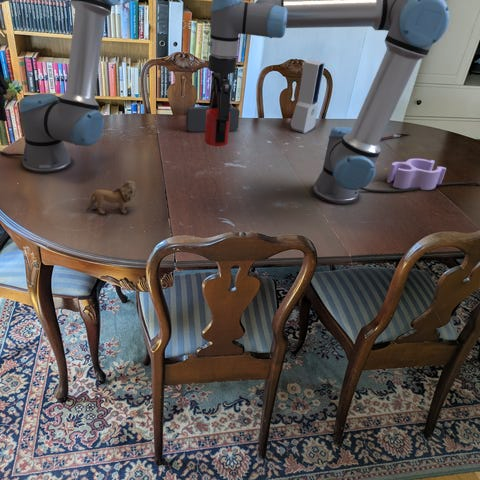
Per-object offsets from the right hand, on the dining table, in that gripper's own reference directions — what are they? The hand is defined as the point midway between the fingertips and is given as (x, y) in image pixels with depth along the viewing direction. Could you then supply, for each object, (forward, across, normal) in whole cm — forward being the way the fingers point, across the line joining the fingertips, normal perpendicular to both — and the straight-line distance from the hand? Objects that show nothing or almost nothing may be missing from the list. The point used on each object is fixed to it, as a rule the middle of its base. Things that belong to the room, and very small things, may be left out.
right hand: (216, 137), depth 138 cm
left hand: (-5, +5, -61) cm, 61 cm away
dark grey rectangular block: (+21, -61, +14) cm, 66 cm away
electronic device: (+21, -63, +56) cm, 87 cm away
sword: (+21, -49, +94) cm, 108 cm away
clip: (+21, -6, +78) cm, 81 cm away
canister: (+2, 0, 0) cm, 2 cm away
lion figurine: (+21, +4, -31) cm, 37 cm away
